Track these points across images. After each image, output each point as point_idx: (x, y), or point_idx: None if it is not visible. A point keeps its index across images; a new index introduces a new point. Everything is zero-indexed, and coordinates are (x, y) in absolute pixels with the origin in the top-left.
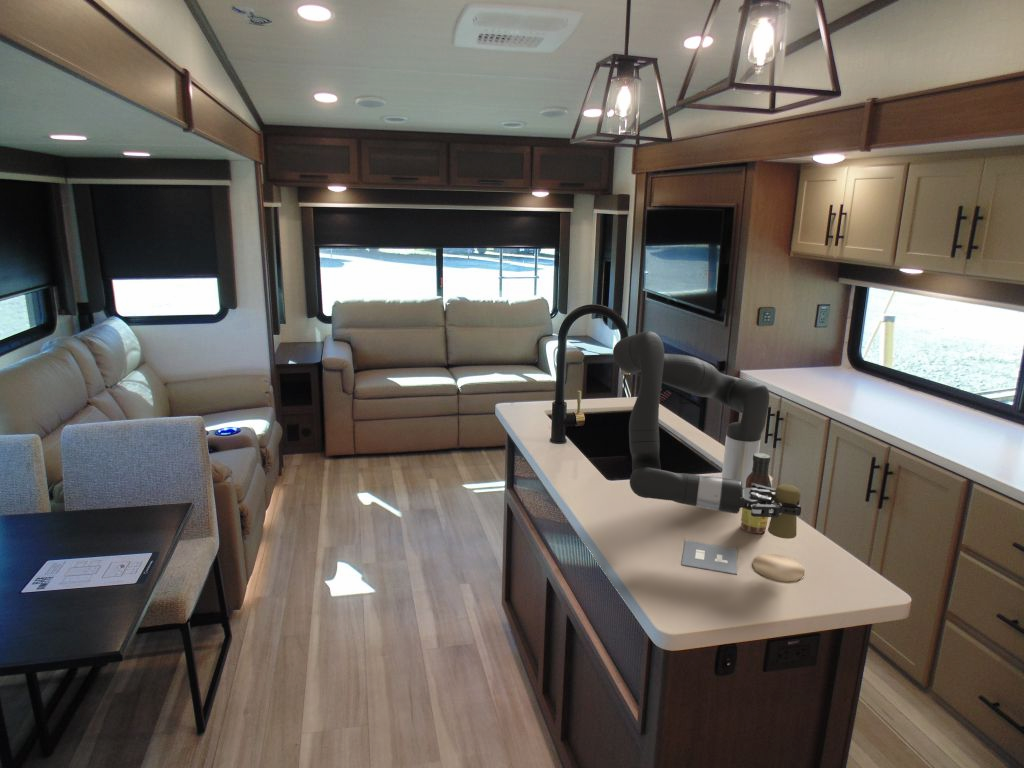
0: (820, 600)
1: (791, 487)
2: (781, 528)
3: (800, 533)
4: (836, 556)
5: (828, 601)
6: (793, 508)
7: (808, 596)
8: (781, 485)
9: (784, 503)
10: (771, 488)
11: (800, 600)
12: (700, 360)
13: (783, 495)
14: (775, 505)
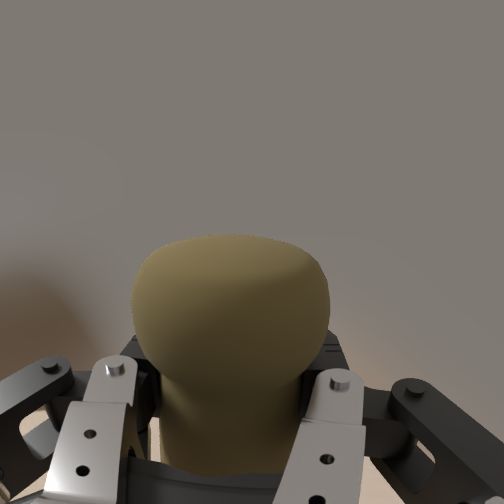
0: (372, 468)
1: (244, 236)
2: None
3: (21, 433)
4: None
5: (367, 456)
6: (338, 344)
7: (369, 489)
8: (202, 261)
9: (315, 364)
10: (21, 378)
11: (400, 501)
12: None
13: (324, 310)
14: (413, 401)
